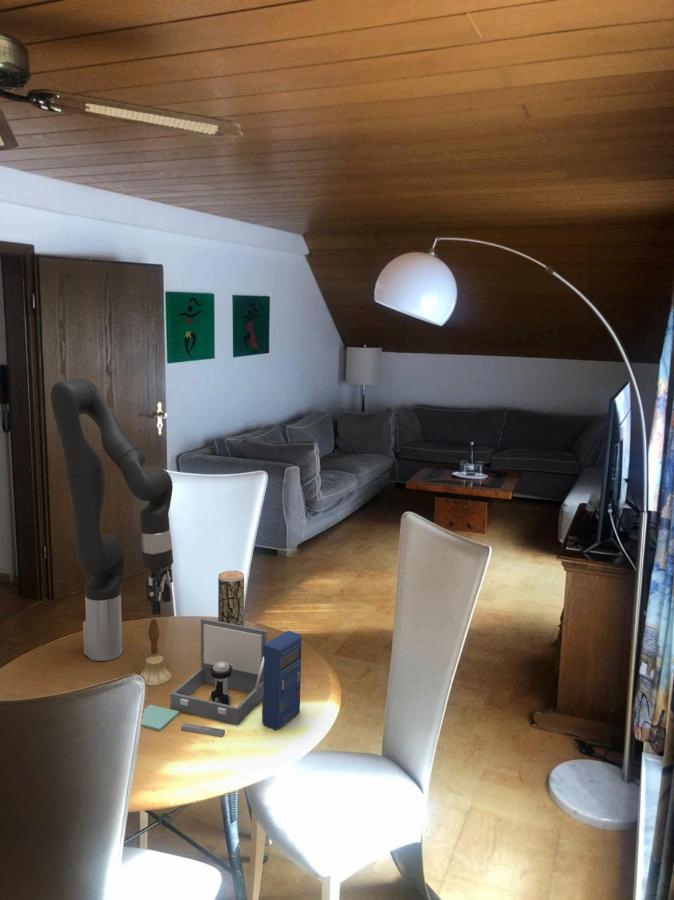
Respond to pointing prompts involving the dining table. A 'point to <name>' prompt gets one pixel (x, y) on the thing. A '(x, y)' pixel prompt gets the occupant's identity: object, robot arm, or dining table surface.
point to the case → (247, 672)
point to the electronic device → (281, 679)
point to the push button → (221, 682)
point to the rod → (203, 730)
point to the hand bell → (155, 661)
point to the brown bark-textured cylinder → (231, 597)
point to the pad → (157, 717)
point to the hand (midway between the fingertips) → (161, 607)
